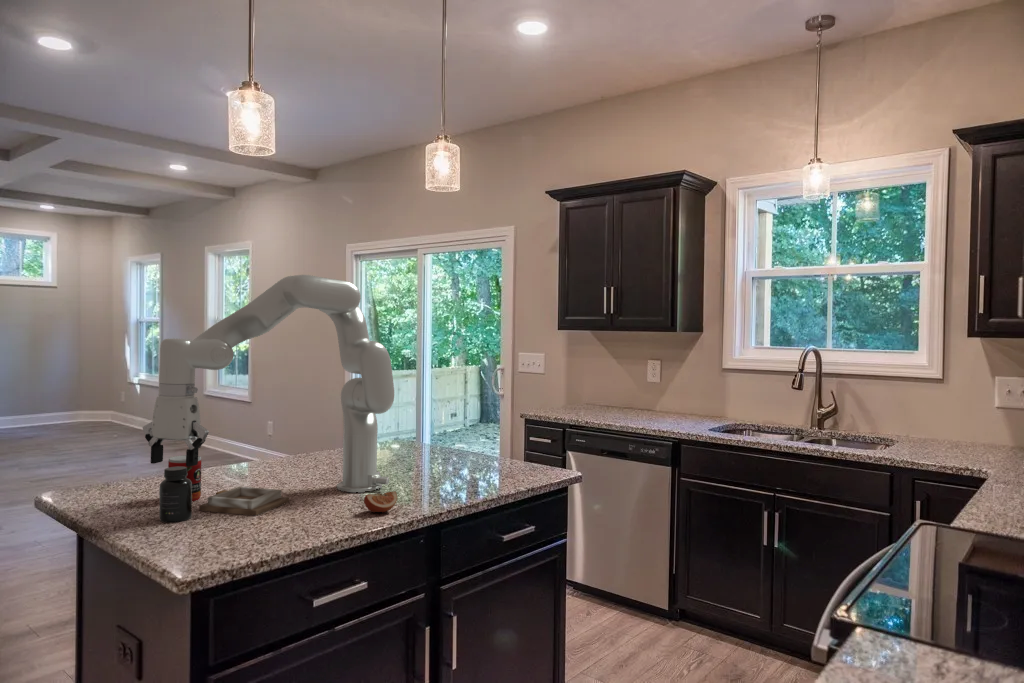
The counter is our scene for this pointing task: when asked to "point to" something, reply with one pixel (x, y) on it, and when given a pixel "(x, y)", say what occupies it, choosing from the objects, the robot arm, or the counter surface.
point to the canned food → (189, 473)
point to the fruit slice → (380, 501)
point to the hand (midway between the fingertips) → (174, 464)
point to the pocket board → (244, 501)
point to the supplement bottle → (175, 495)
